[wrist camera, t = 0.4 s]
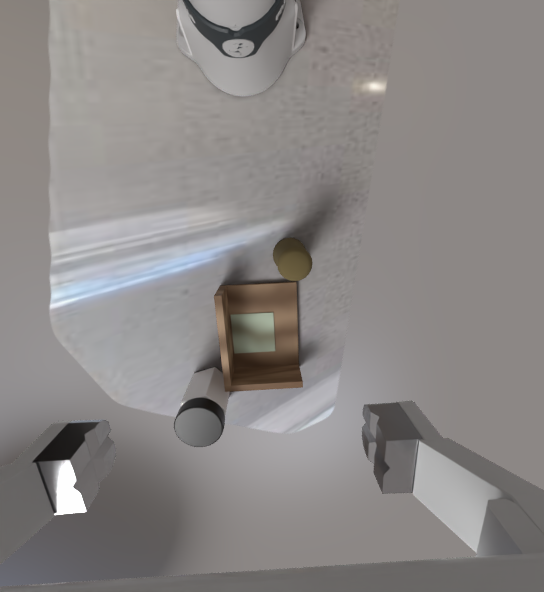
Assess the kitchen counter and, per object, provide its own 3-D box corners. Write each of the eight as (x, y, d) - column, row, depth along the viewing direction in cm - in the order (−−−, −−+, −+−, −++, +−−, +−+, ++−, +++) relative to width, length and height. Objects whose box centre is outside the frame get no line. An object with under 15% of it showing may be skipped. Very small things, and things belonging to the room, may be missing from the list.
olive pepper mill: (310, 243, 51) (322, 251, 41) (300, 275, 53) (308, 291, 42) (278, 233, 50) (282, 239, 40) (268, 265, 52) (269, 279, 42)
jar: (198, 407, 60) (182, 453, 49) (183, 375, 58) (163, 415, 46) (238, 395, 60) (232, 440, 48) (225, 362, 57) (215, 400, 46)
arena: (220, 285, 53) (214, 296, 46) (295, 281, 53) (300, 291, 46) (229, 371, 58) (225, 391, 51) (298, 367, 58) (302, 387, 52)
